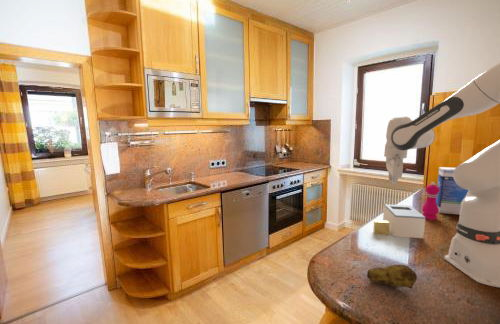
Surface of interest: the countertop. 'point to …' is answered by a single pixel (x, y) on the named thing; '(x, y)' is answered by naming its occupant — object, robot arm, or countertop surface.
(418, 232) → the coin box
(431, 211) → the pepper mill
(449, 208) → the string lights box
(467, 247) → the robot arm
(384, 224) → the block
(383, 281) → the potato
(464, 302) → the countertop surface
